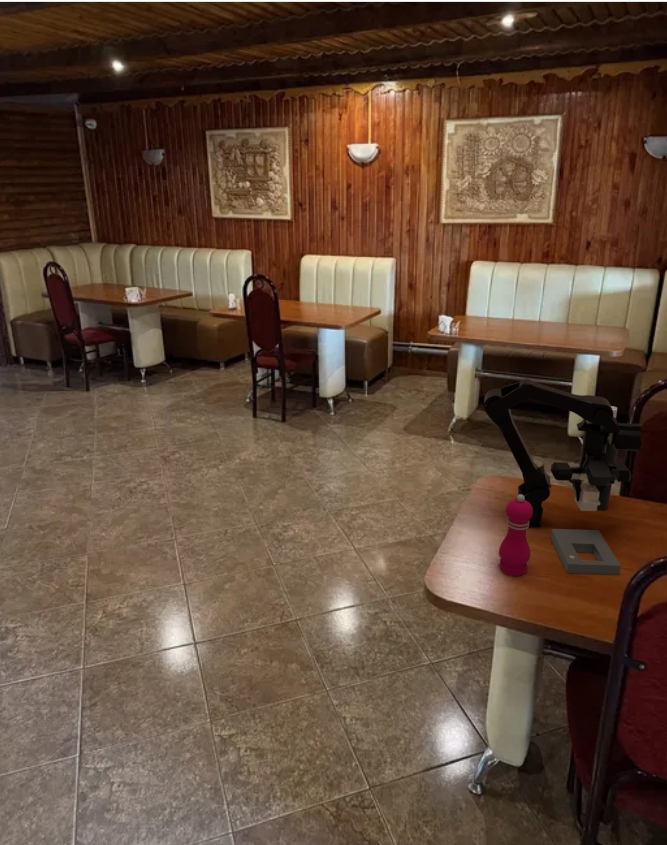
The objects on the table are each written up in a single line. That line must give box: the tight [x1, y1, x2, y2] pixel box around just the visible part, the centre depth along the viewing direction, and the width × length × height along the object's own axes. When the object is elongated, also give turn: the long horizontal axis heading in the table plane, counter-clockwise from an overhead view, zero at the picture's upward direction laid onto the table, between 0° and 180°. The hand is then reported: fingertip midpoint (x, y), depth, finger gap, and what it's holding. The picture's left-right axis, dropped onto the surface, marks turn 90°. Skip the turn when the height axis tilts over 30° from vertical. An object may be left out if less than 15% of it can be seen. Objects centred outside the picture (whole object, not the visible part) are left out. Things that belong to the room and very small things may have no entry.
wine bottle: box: [597, 405, 619, 511], centre depth 175 cm, size 6×6×30 cm
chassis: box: [550, 528, 621, 576], centre depth 156 cm, size 12×16×3 cm
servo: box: [573, 479, 600, 512], centre depth 166 cm, size 4×9×6 cm, turn 176°
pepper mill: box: [498, 494, 533, 577], centre depth 148 cm, size 7×7×20 cm
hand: (585, 500), depth 166 cm, fingers closed on servo, 4 cm apart
